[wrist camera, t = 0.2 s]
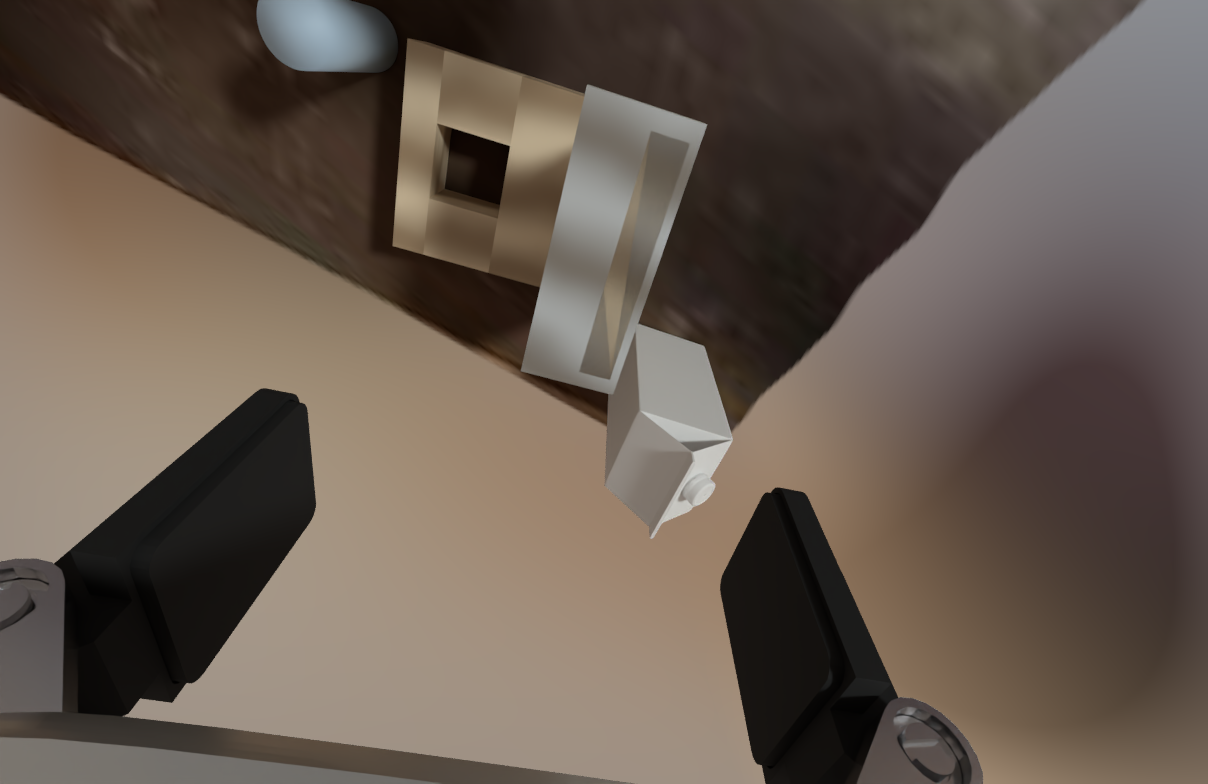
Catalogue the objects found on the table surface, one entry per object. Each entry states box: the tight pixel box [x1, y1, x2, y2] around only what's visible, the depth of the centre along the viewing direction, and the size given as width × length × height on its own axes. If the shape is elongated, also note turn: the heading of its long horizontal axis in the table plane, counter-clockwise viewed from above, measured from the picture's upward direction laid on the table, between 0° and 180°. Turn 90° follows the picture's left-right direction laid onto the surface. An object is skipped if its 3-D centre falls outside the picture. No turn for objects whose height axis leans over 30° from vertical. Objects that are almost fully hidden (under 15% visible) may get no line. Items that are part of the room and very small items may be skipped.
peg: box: [257, 0, 398, 73], centre depth 33 cm, size 4×4×10 cm
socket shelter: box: [393, 39, 707, 395], centre depth 35 cm, size 16×18×16 cm
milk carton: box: [605, 324, 733, 538], centre depth 42 cm, size 7×7×19 cm
